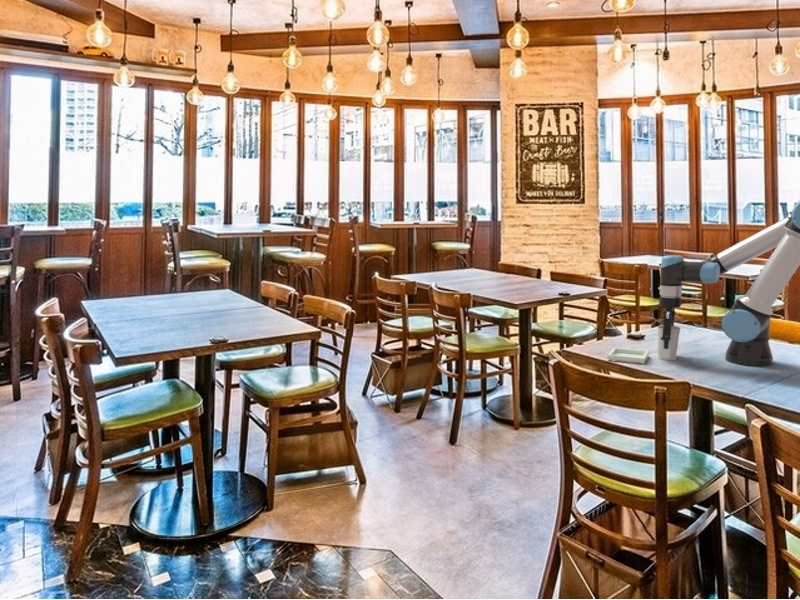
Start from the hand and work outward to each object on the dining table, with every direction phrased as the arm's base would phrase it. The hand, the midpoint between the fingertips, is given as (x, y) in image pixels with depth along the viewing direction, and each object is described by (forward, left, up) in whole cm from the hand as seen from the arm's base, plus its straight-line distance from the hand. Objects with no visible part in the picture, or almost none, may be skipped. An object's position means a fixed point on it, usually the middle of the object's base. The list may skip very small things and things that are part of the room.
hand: (667, 353), depth 221 cm
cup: (0, 0, -2) cm, 2 cm away
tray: (+13, +7, -2) cm, 15 cm away
